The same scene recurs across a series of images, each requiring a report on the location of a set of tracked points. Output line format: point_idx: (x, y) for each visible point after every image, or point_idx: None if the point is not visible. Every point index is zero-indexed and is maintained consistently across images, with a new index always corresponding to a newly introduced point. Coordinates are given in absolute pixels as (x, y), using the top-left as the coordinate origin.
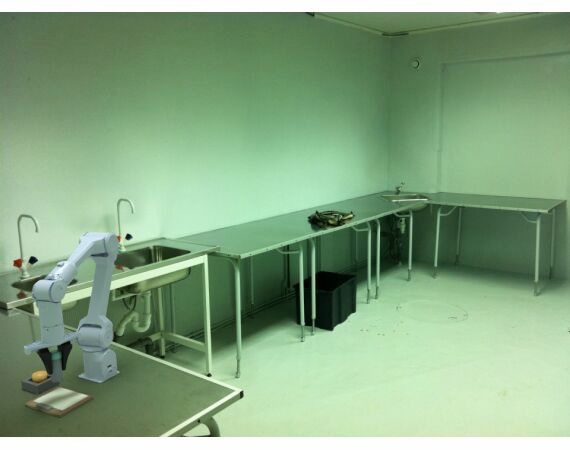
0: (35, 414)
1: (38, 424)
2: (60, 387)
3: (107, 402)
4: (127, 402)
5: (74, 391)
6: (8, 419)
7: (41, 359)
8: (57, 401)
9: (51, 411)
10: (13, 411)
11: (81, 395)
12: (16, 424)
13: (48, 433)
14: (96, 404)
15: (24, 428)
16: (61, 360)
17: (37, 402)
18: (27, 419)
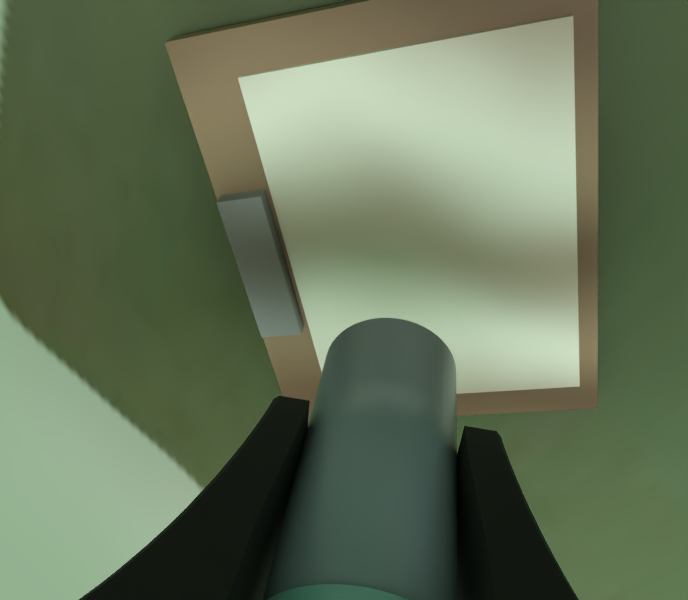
0: (200, 237)
1: (173, 361)
2: (584, 6)
3: (609, 481)
4: (669, 561)
5: (589, 220)
6: (21, 138)
7: (147, 553)
8: (376, 271)
9: (276, 347)
10: (75, 36)
11: (556, 340)
12: (60, 253)
13: (184, 469)
14: (550, 448)
15: (92, 334)
16: (465, 581)
17: (255, 137)
18: (135, 254)
